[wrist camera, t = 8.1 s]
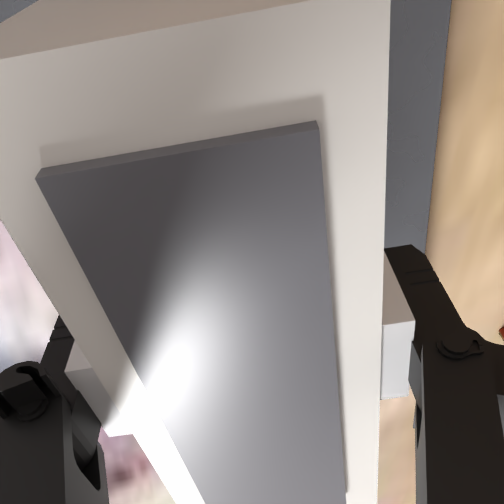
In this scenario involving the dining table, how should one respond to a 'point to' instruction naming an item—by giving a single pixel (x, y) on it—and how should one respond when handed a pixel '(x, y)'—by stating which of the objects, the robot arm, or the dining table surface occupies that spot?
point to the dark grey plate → (399, 112)
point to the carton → (501, 333)
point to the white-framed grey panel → (212, 227)
